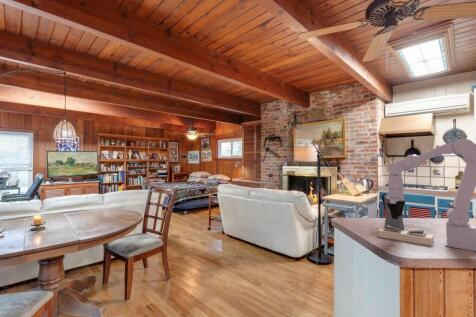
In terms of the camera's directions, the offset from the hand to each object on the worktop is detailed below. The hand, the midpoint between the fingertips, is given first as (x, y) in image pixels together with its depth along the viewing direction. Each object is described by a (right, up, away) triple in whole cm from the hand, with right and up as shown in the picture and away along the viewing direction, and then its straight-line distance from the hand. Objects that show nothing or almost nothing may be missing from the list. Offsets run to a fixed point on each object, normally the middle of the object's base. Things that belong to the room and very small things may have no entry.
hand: (396, 217), depth 111 cm
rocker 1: (-1, -5, +1) cm, 5 cm away
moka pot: (+9, -10, +17) cm, 22 cm away
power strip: (+2, -9, -3) cm, 10 cm away
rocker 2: (+5, -5, -6) cm, 9 cm away
